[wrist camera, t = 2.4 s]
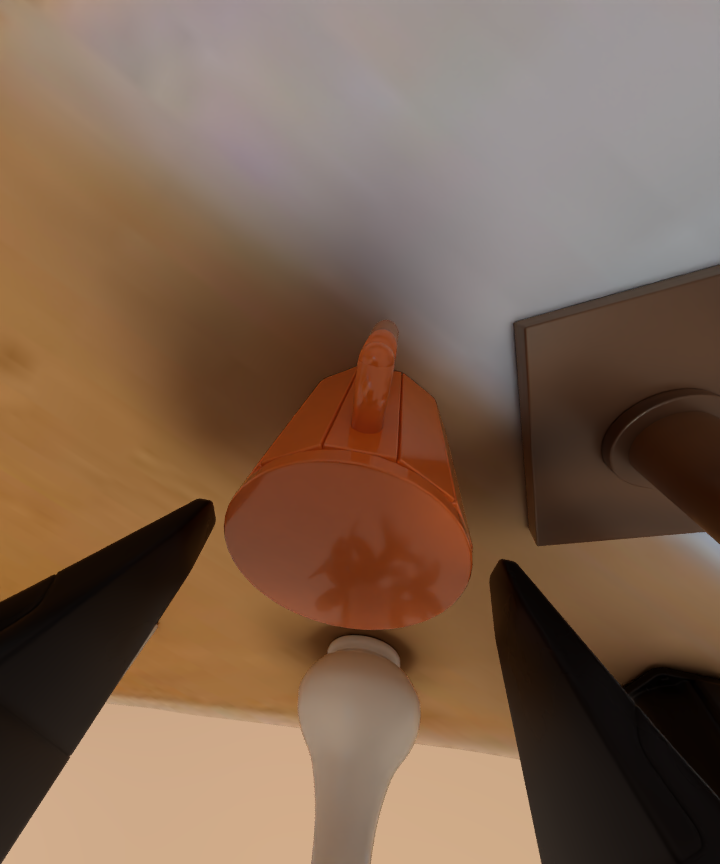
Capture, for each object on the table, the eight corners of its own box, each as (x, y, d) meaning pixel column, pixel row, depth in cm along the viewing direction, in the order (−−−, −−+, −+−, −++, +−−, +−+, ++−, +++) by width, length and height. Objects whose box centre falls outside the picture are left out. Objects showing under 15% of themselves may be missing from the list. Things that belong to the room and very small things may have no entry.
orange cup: (424, 503, 16) (434, 648, 10) (299, 479, 16) (235, 604, 10) (480, 326, 11) (568, 397, 5) (303, 299, 11) (188, 334, 5)
